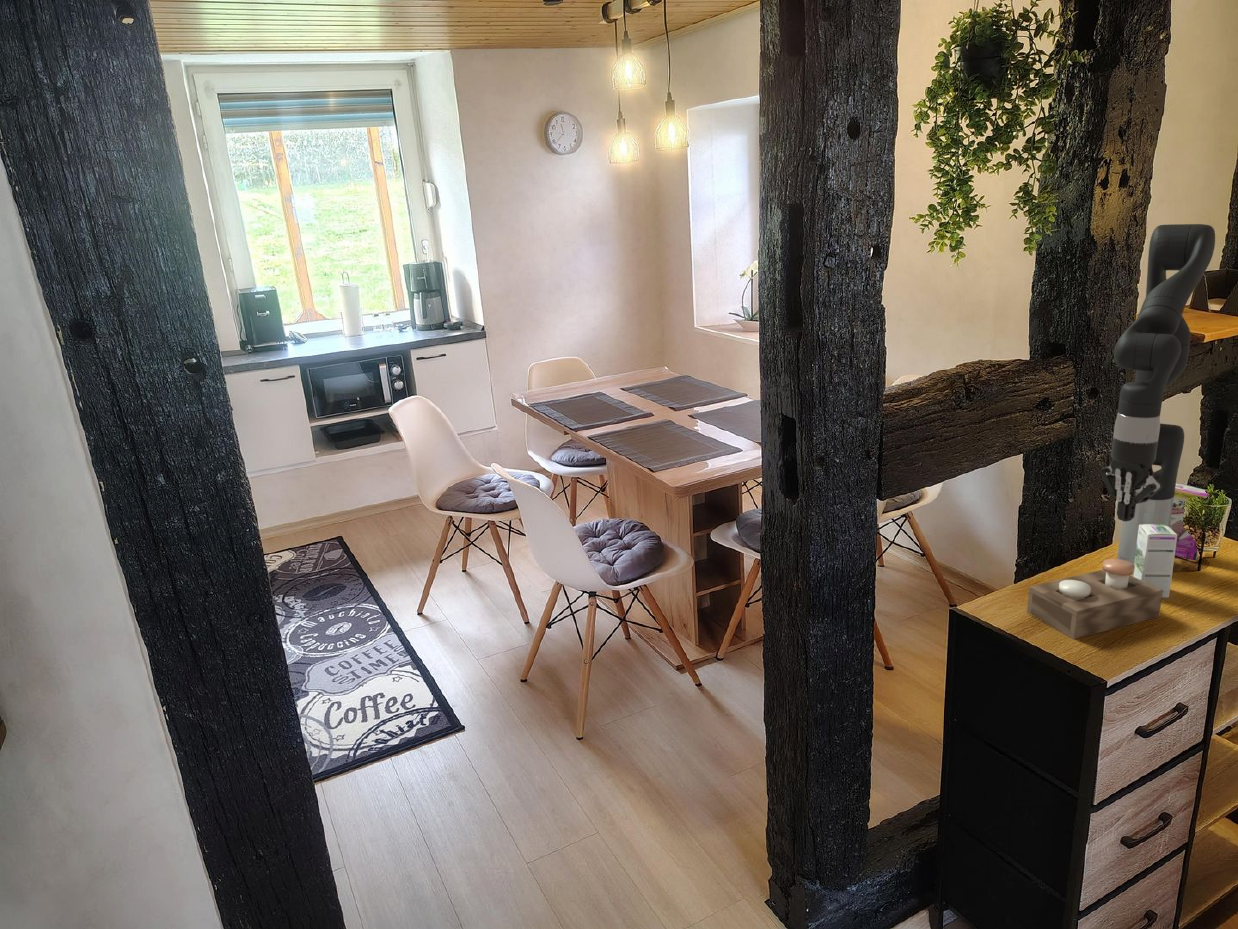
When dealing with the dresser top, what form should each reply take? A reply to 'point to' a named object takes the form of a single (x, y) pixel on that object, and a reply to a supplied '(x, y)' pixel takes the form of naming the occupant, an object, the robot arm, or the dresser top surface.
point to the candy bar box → (1184, 539)
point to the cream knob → (1074, 589)
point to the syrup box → (1155, 556)
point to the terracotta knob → (1117, 573)
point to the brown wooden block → (1094, 605)
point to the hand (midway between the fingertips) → (1124, 519)
